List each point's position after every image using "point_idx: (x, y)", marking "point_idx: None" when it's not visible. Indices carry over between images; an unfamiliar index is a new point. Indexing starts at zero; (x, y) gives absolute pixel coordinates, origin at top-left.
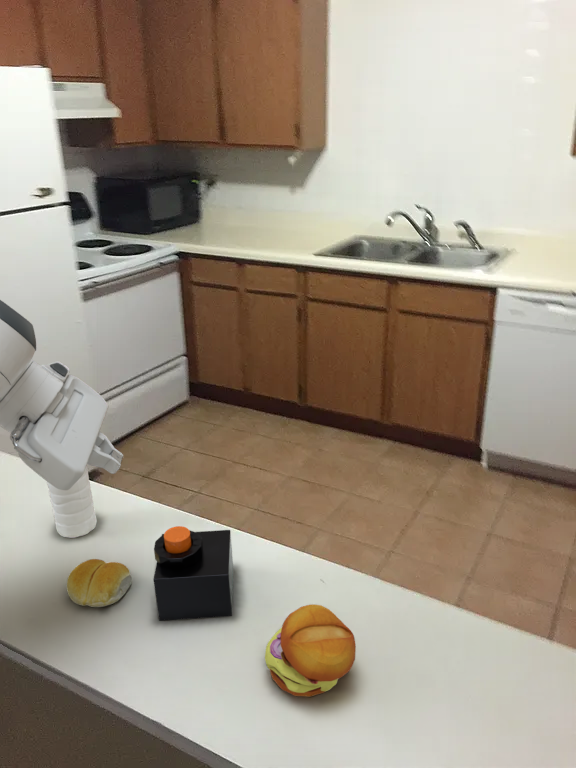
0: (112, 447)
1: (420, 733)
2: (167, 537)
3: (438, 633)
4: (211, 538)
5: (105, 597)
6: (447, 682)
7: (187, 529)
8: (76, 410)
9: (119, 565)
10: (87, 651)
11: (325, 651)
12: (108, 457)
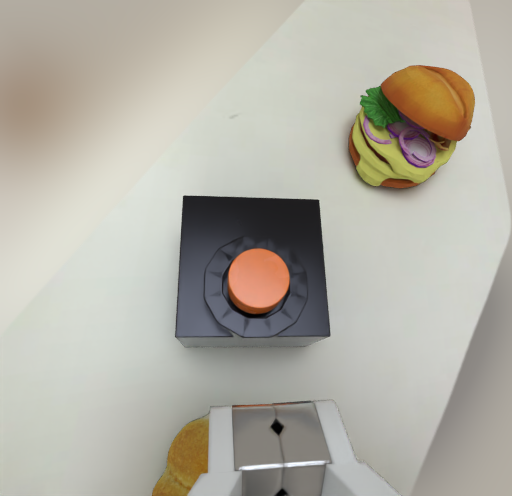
0: (222, 482)
1: (456, 70)
2: (272, 297)
3: (332, 24)
4: (208, 229)
5: None
6: (396, 35)
7: (245, 254)
8: None
9: (201, 441)
10: (371, 464)
11: (468, 88)
12: (373, 476)
